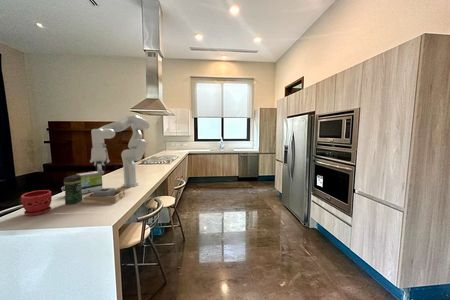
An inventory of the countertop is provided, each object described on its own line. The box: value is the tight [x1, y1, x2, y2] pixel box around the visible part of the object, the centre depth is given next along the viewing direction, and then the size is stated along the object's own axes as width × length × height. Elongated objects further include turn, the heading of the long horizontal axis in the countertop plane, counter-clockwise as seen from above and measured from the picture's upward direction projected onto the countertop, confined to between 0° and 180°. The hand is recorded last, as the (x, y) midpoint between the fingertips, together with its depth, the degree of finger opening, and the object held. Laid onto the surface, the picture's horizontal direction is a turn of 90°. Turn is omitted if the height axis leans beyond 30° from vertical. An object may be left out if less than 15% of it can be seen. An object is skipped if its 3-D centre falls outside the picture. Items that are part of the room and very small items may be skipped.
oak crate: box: [82, 190, 125, 205], centre depth 140 cm, size 14×20×5 cm
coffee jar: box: [63, 174, 83, 206], centre depth 136 cm, size 10×8×19 cm
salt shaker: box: [96, 161, 105, 176], centre depth 150 cm, size 5×5×10 cm
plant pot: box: [20, 189, 53, 217], centre depth 120 cm, size 13×13×12 cm
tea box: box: [75, 170, 103, 195], centre depth 164 cm, size 15×10×15 cm, turn 143°
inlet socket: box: [93, 187, 116, 197], centre depth 139 cm, size 9×9×7 cm
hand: (100, 170), depth 151 cm, fingers closed on salt shaker, 4 cm apart
